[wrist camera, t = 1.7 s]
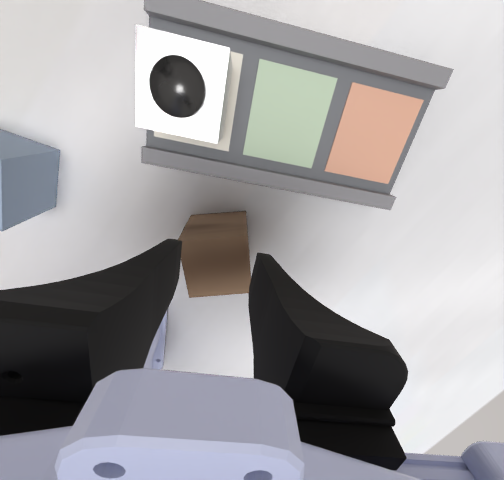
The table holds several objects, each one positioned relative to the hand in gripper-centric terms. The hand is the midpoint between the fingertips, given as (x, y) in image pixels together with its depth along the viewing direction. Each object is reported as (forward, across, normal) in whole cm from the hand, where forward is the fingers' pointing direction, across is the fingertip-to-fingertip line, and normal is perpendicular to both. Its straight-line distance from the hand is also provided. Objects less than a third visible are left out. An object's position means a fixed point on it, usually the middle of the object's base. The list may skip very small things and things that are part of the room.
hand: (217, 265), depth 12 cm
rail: (+9, -3, -7) cm, 12 cm away
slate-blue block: (+10, +15, 0) cm, 18 cm away
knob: (+8, +3, -7) cm, 11 cm away
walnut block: (+10, 0, +3) cm, 10 cm away
